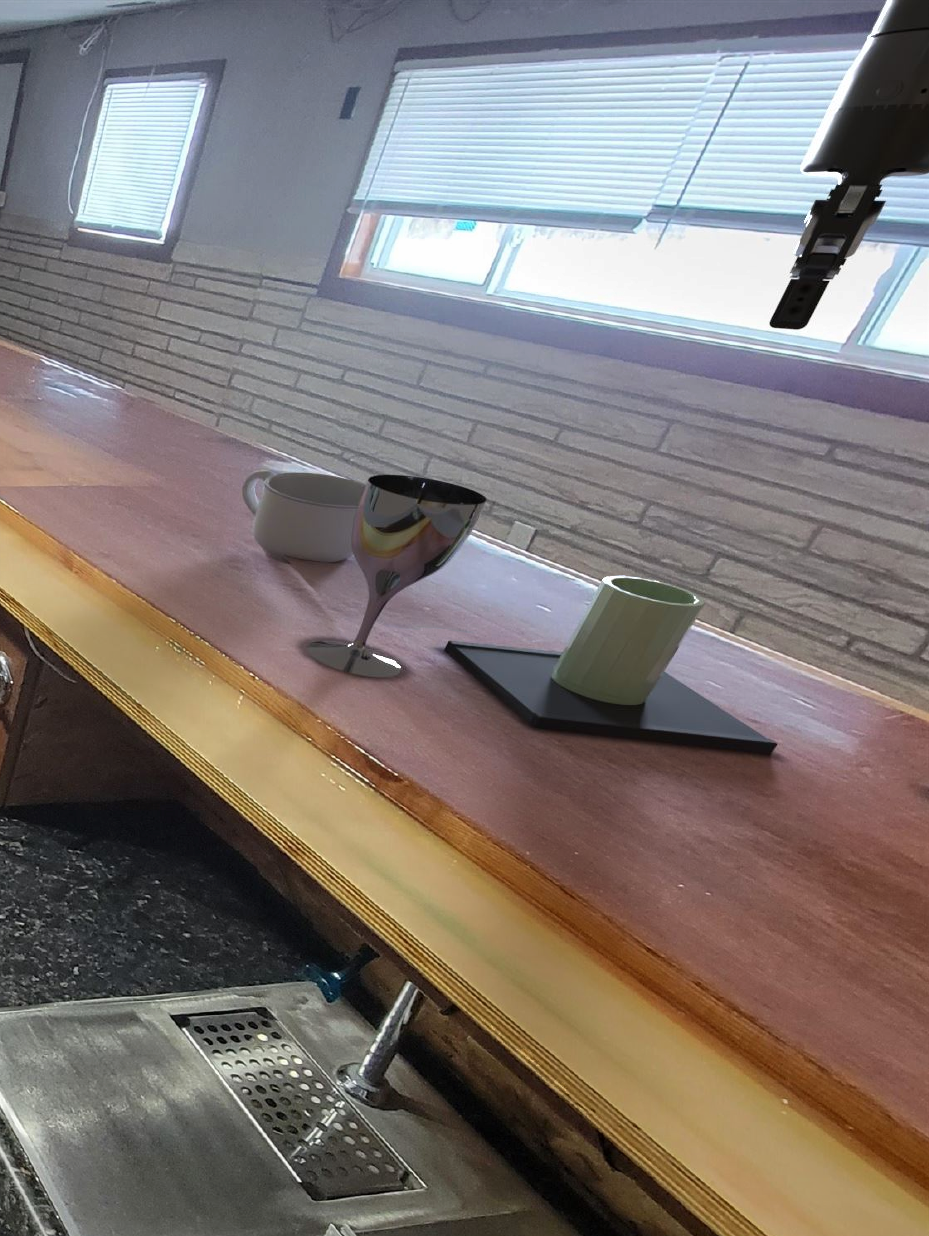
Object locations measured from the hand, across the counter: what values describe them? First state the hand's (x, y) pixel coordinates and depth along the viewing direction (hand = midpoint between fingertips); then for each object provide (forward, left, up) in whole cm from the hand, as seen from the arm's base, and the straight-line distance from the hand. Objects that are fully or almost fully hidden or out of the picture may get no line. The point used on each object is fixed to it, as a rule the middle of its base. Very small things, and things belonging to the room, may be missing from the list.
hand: (785, 327), depth 85 cm
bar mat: (+15, +22, -27) cm, 37 cm away
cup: (+15, +22, -26) cm, 37 cm away
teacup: (+28, -9, -27) cm, 40 cm away
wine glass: (+32, +19, -27) cm, 46 cm away
